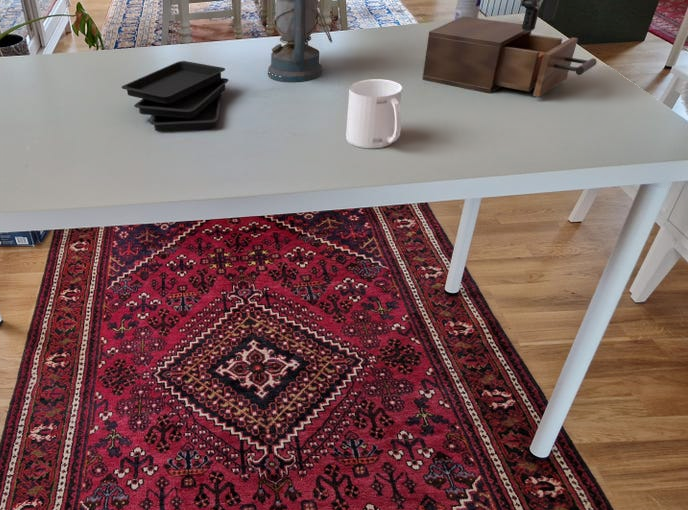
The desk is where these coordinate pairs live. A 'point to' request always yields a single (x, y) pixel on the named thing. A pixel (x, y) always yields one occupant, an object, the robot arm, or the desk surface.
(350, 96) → the mug
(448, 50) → the cabinet
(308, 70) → the lantern
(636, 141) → the desk surface
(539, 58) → the block
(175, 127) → the tray
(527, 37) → the drawer
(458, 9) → the beverage can
